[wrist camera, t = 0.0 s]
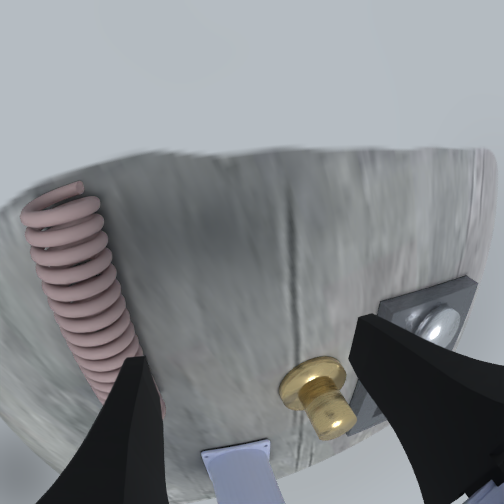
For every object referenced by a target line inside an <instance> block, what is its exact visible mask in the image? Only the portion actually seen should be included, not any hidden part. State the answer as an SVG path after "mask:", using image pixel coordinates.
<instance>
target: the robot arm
mask: <svg viewBox="0 0 504 504" xmlns="http://www.w3.org/2000/svg"><path fill="white" fill-rule="evenodd" d="M348 359H349V361H350V363H351V365H352V367H353V369H354V371H355V373H356V375H357V377H358V379H359V380H360V382H361V383H362V385H363V386H364V388H365V389H366V391H367V392H368V393H369V395H370V396H371V398H372V399H373V401H374V402H375V403H376V405H377V406H378V407H379V409H380V410H381V412H382V413H383V414H384V416H385V417H386V419H387V420H388V422H389V423H390V425H391V426H392V428H393V429H394V431H395V433H396V435H397V437H398V438H399V440H400V442H401V444H402V446H403V448H404V450H405V452H406V454H407V456H408V459H409V461H410V463H411V465H412V468H413V470H414V473H415V475H416V478H417V481H418V483H419V487H420V490H421V493H422V497H423V500H424V504H451V503H452V502H454V501H455V500H457V499H458V498H459V497H461V496H462V495H463V494H464V493H466V495H467V496H468V498H469V499H467V500H466V501H465V502H464V503H463V504H504V366H502V365H497V364H492V363H488V362H484V361H479V360H476V359H473V358H470V357H467V356H464V355H461V354H458V353H456V352H453V351H450V350H448V349H446V348H443V347H441V346H439V345H436V344H434V343H432V342H430V341H428V340H426V339H424V338H422V337H420V336H417V335H415V334H413V333H411V332H409V331H407V330H405V329H404V328H402V327H400V326H398V325H396V324H394V323H392V322H390V321H388V320H385V319H383V318H381V317H379V316H377V315H374V314H368V315H365V316H361V317H358V321H357V325H356V330H355V334H354V338H353V343H352V347H351V351H350V355H349V358H348ZM269 455H270V440H268V439H266V440H262V441H257V442H253V443H248V444H243V445H238V446H233V447H227V448H221V449H215V450H208V451H203V452H201V456H202V459H203V461H204V464H205V466H206V469H207V472H208V474H209V477H210V479H211V480H212V482H213V486H214V490H215V494H216V498H217V502H218V504H285V502H284V499H283V497H282V494H281V492H280V489H279V487H278V484H277V481H276V479H275V476H274V474H273V471H272V468H271V466H270V463H269ZM36 504H169V502H168V497H167V491H166V482H165V465H164V438H163V419H162V411H161V403H160V396H159V394H158V391H157V388H156V385H155V383H154V380H153V377H152V374H151V371H150V368H149V365H148V362H147V359H146V356H137V357H127V358H126V359H125V360H124V362H123V365H122V367H121V369H120V371H119V374H118V376H117V378H116V380H115V382H114V384H113V386H112V389H111V391H110V393H109V395H108V397H107V399H106V401H105V403H104V405H103V407H102V409H101V411H100V413H99V415H98V416H97V418H96V420H95V422H94V424H93V425H92V427H91V429H90V431H89V433H88V434H87V436H86V438H85V439H84V441H83V443H82V444H81V446H80V448H79V449H78V451H77V452H76V454H75V455H74V457H73V458H72V460H71V461H70V463H69V464H68V465H67V467H66V468H65V469H64V471H63V472H62V473H61V475H60V476H59V477H58V479H57V480H56V481H55V483H54V484H53V485H52V486H51V487H50V489H49V490H48V491H47V492H46V493H45V494H44V495H43V496H42V497H41V498H40V499H39V500H38V502H37V503H36Z"/></svg>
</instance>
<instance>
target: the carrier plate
mask: <svg viewBox="0 0 504 504" xmlns="http://www.w3.org/2000/svg"><path fill="white" fill-rule="evenodd" d="M477 285H478V283H477V282H476V281H474V280H473V279H471V278H469V277H468V276H464V277H461V278H458V279H455V280H452V281H449V282H446V283H442V284H439V285H436V286H433V287H430V288H426V289H423V290H420V291H416V292H413V293H410V294H406V295H403V296H399V297H396V298H392V299H388V300H385V301H381V302H380V306H379V310H378V314H377V316H379V317H381V318H383V319H385V320H388V321H390V322H392V323H394V324H396V325H398V326H400V327H402V328H404V329H405V330H407V331H409V332H411V333H413V334H415V335H417V336H420V337H422V338H424V339H426V340H428V341H430V342H432V343H434V344H436V345H439V346H441V347H443V348H446V349H448V350H450V351H452V349H453V347H454V345H455V342H456V340H457V338H458V335H459V333H460V331H461V328H462V326H463V324H464V321H465V319H466V316H467V313H468V311H469V308H470V305H471V303H472V300H473V297H474V294H475V291H476V288H477ZM349 406H350V408H351V409H352V411H353V412H354V414H355V415H356V417H357V422H356V424H355V425H354V426H353V427H352V428H351V429H350V430H349V431H348V432H346V434H347V436H348V437H349V436H351V435H354V434H356V433H358V432H361V431H363V430H366V429H368V428H370V427H372V426H375V425H377V424H379V423H381V422H383V421H386V420H387V419H386V417H385V416H384V414H383V413H382V412H381V410H380V409H379V407H378V406H377V405H376V403H375V402H374V401H373V399H372V398H371V396H370V395H369V393H368V392H367V391H366V389H365V388H364V386H363V385H362V383H361V382H360V380H359V379H358V382H357V385H356V388H355V391H354V394H353V397H352V400H351V402H350V405H349Z"/></svg>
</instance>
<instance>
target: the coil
mask: <svg viewBox="0 0 504 504" xmlns="http://www.w3.org/2000/svg"><path fill="white" fill-rule="evenodd" d="M83 192H84V186H83V183H82V182H81V181H77V182H74V183H71V184H68V185H65V186H62V187H60V188H57V189H55V190H52V191H50V192H48V193H46V194H44V195H42V196H40V197H38V198H36V199H34V200H33V201H31V202H30V203H28V204H27V205H26V206H25V207H24V208H23V209H22V211H21V214H20V219H21V222H22V223H23V224H24V225H25V226H27V228H26V231H25V238H26V241H27V242H28V243H29V244H30V245H31V249H30V254H31V257H32V259H33V260H34V261H35V262H36V263H37V264H36V272H37V275H38V277H39V278H40V279H42V288H43V291H44V293H45V294H46V295H47V296H48V303H49V306H50V308H51V309H52V310H53V311H54V317H55V320H56V322H57V323H58V324H59V325H60V330H61V332H62V335H63V336H64V338H65V339H66V342H67V345H68V347H69V348H70V350H71V351H72V353H73V356H74V358H75V360H76V361H77V363H78V364H79V367H80V369H81V371H82V372H83V373H84V375H85V377H86V379H87V381H88V383H89V384H90V385H91V387H92V389H93V391H94V392H95V393H96V395H97V397H98V399H99V400H100V402H101V403H102V405H104V403H105V401H106V399H107V397H108V395H109V393H110V391H111V389H112V386H113V384H114V382H115V380H116V378H117V376H118V374H119V371H120V369H121V367H122V365H123V362H124V360H125V359H126V358H127V357H137V356H144V355H143V350H142V347H141V346H140V345H139V340H138V337H137V335H136V334H135V330H134V325H133V323H132V322H131V321H130V313H129V311H128V310H127V308H126V302H125V298H124V297H123V295H122V294H121V285H120V283H119V281H118V280H117V279H115V278H116V276H117V271H116V268H115V267H114V265H113V264H111V261H112V252H111V251H110V250H109V249H108V248H106V245H107V243H108V236H107V234H106V233H105V232H103V231H101V229H102V227H103V225H104V218H103V217H102V216H101V215H99V214H93V213H94V212H96V211H97V210H98V209H99V207H100V200H99V198H97V197H96V196H89V197H84V198H80V199H76V200H73V201H70V202H67V203H64V204H62V205H59V206H57V207H55V208H52V209H50V210H43V209H45V208H47V207H49V206H51V205H53V204H55V203H57V202H60V201H62V200H65V199H67V198H70V197H73V196H76V195H80V194H82V193H83ZM41 210H43V211H41ZM49 226H53V227H51V228H49V229H48V230H46V231H41V230H42V229H44V228H45V227H49ZM45 247H49V248H48V249H47V250H44V249H45ZM90 259H93V260H91V261H89V262H87V263H84V264H81V265H78V266H75V267H71V266H73V265H75V264H77V263H79V262H82V261H86V260H90ZM49 266H50V267H49ZM69 267H70V268H69ZM96 274H101V275H100V276H96V277H92V276H95V275H96ZM90 277H91V278H90ZM79 281H80V282H79ZM74 282H78V283H76V284H74V285H72V286H69V285H70V284H71V283H74ZM67 286H69V287H67ZM107 288H108V289H107ZM71 301H73V302H72V303H70V302H71ZM105 327H107V328H105ZM102 328H105V329H102ZM99 329H102V330H99ZM97 330H99V331H97ZM96 331H97V332H96ZM117 337H118V338H117ZM150 371H151V370H150ZM152 377H153V376H152ZM153 380H154V377H153ZM154 383H155V380H154ZM155 385H156V383H155ZM156 388H157V391H158V394H159V396H160V403H161V411H162V419H164V417H165V414H166V405H165V402H164V400H163V399H162V396H161V394H160V392H159V390H158V387H157V385H156Z"/></svg>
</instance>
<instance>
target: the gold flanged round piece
mask: <svg viewBox="0 0 504 504" xmlns="http://www.w3.org/2000/svg"><path fill="white" fill-rule="evenodd" d="M345 380H346V372H345V370H344V368H343V367H342V366H341V364H340V363H339V361H338V360H336V359H335V358H332V357H327V356H324V357H317V358H313V359H310V360H307V361H305V362H303V363H301V364H300V365H298V366H296V367H295V368H294V369H292V370H291V371H290V372H289V373H288V374H287V375H286V376H285V377H284V379H283V380H282V382H281V384H280V387H279V393H280V396H281V398H282V401H283V403H284V405H285V406H286V407H287V408H289V409H291V410H305V412H306V414H307V416H308V418H309V420H310V422H311V424H312V426H313V427H314V429H315V431H316V433H317V435H318V437H319V439H320V440H323V441H326V440H331V439H335V438H337V437H339V436H341V435H343V434H345V433H346V432H348V431H349V430H350V429H351V428H352V427H353V426H354V425H355V424H356V422H357V417H356V415H355V414H354V412H353V411H352V409H351V408H350V406H349V405H348V403H347V402H346V400H345V398H344V397H343V395H342V394H341V392H340V391H339V390H340V389H341V388H342V386H343V385H344V383H345Z"/></svg>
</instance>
